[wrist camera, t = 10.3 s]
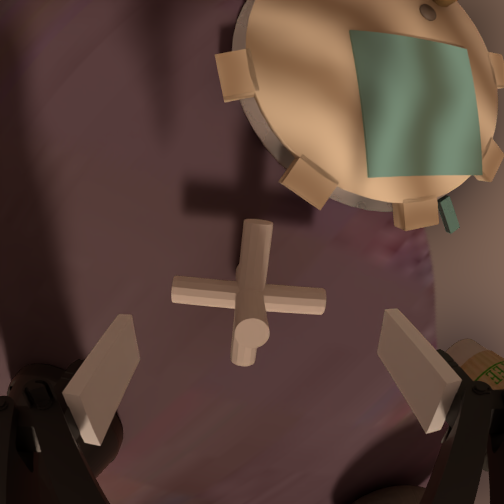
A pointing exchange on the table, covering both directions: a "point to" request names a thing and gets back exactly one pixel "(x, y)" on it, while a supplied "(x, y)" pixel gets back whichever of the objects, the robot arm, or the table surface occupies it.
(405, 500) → the bowl
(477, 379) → the coffee cup
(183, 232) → the table surface
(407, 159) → the sprocket
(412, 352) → the robot arm
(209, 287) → the light wooden cross
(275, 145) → the sprocket base
